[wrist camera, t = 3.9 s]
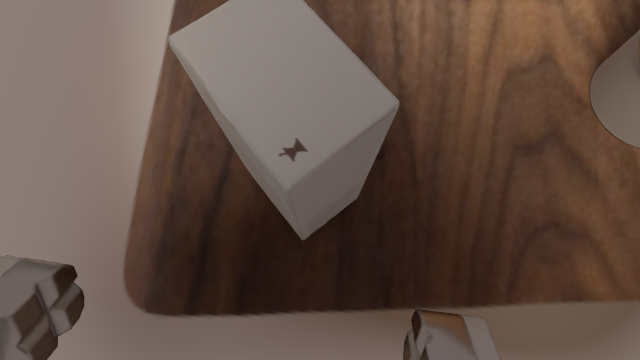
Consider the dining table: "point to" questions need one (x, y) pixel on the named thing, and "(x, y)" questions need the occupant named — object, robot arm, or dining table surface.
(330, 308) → the dining table surface
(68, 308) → the robot arm
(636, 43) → the coffee cup
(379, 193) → the dining table surface
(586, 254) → the dining table surface
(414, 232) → the dining table surface
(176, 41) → the cosmetic box
